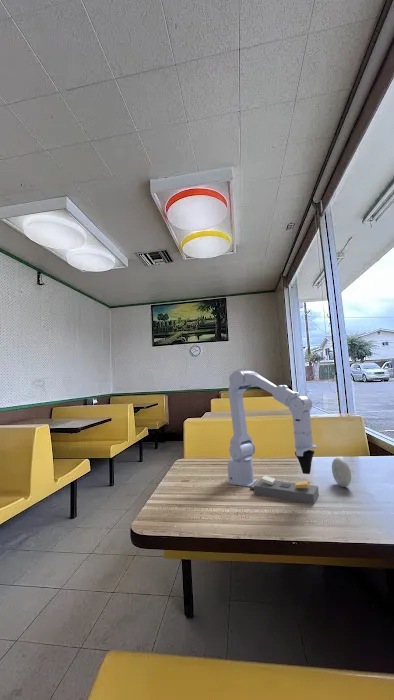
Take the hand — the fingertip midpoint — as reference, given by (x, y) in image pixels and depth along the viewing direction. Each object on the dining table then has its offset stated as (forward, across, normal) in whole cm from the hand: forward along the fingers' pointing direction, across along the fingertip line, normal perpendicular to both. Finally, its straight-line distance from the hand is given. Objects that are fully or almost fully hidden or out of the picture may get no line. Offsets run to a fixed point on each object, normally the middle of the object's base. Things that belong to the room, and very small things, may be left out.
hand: (306, 473), depth 101 cm
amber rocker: (+4, 0, +2) cm, 5 cm away
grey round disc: (+8, +16, -8) cm, 20 cm away
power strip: (+8, 0, +9) cm, 12 cm away
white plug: (+4, 0, +14) cm, 14 cm away
